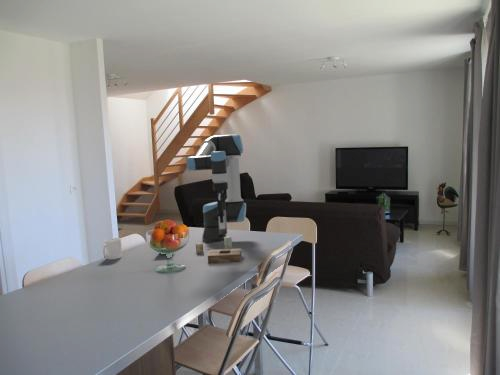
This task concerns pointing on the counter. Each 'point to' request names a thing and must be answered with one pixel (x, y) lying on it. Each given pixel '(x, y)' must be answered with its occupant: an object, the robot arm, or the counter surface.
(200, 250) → the short pin
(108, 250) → the cup
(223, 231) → the long pin
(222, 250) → the hole board
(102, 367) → the counter surface
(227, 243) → the medium pin
